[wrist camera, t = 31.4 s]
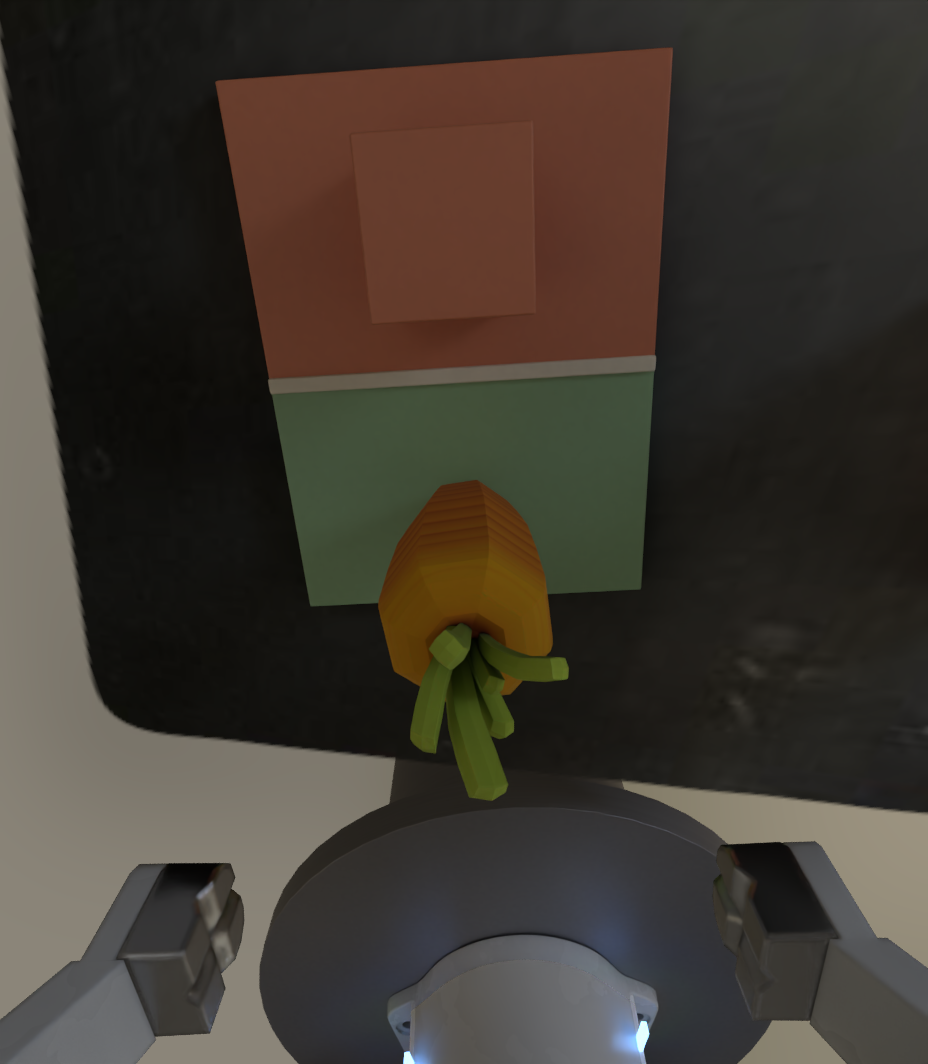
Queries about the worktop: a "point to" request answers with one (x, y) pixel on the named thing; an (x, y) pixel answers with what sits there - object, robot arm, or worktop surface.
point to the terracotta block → (447, 221)
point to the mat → (465, 344)
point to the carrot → (468, 624)
